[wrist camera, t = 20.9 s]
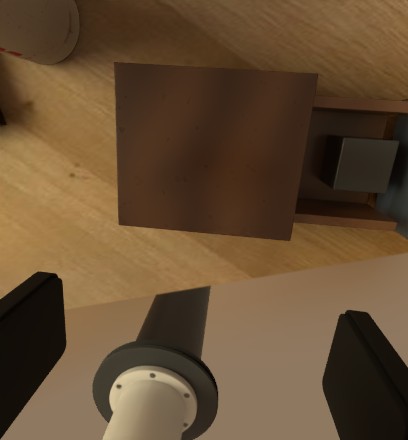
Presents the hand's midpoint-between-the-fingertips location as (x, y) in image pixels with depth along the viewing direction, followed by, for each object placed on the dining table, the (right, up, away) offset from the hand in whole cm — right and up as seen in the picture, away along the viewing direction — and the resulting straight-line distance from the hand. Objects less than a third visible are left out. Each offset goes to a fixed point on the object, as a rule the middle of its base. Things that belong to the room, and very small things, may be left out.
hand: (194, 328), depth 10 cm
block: (+14, +9, +19) cm, 26 cm away
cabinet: (+1, +11, +22) cm, 25 cm away
